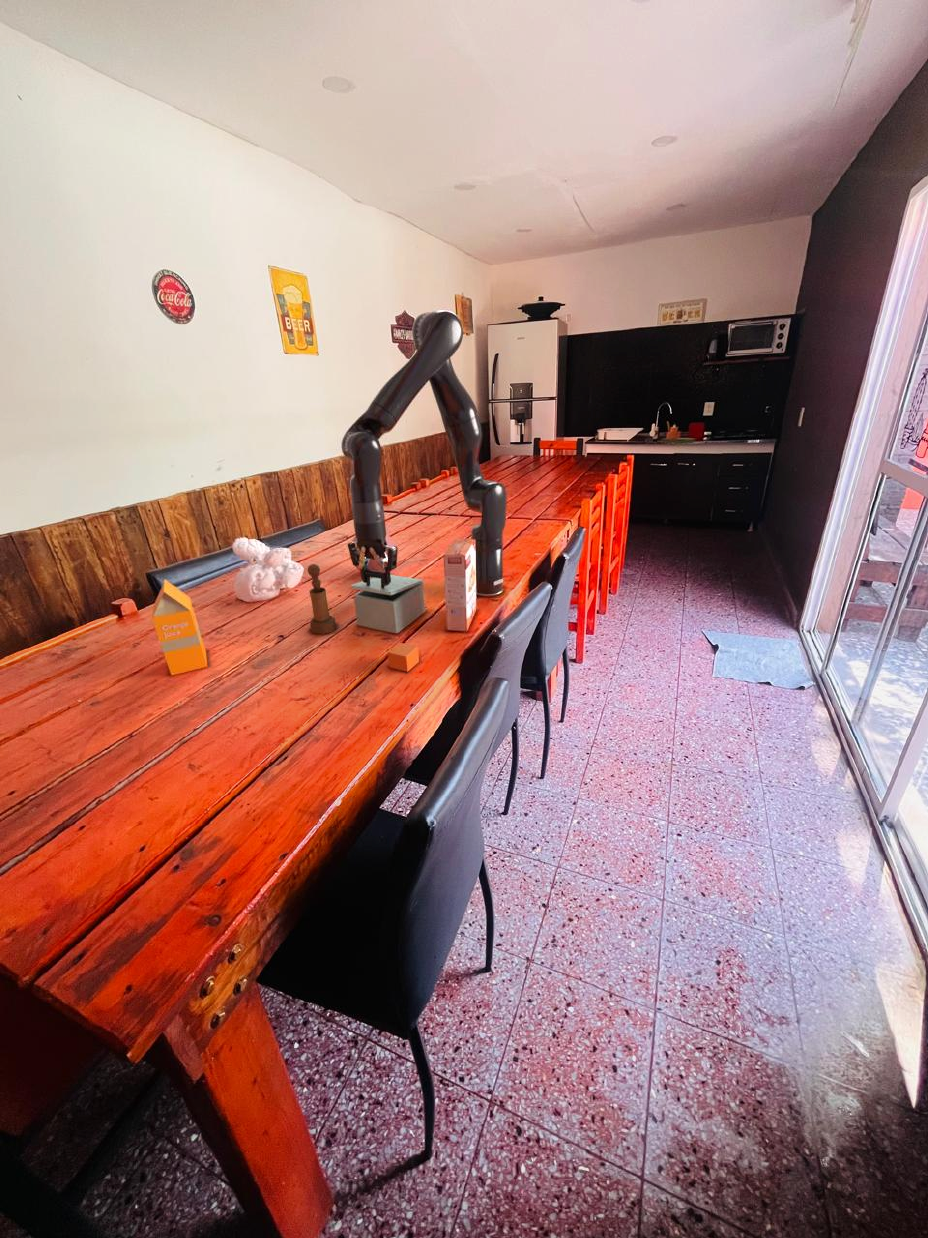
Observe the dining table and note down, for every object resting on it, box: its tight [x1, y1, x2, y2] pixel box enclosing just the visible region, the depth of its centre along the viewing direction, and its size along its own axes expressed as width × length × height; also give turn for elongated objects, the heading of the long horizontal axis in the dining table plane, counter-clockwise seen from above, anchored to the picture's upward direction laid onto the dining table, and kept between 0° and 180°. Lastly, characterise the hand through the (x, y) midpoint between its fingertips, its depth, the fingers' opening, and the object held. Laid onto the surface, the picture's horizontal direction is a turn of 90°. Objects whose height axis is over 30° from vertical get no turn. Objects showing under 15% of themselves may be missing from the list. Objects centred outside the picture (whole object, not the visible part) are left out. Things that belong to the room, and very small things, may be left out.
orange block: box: [387, 642, 420, 673], centre depth 113 cm, size 5×5×4 cm
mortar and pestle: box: [307, 563, 337, 635], centre depth 128 cm, size 7×6×18 cm
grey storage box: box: [353, 582, 426, 635], centre depth 134 cm, size 15×13×9 cm
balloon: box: [349, 532, 396, 572], centre depth 167 cm, size 15×20×15 cm
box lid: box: [349, 569, 424, 595], centre depth 131 cm, size 16×13×5 cm
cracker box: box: [443, 538, 477, 633], centre depth 129 cm, size 14×6×21 cm, turn 168°
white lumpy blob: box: [231, 536, 305, 603], centre depth 154 cm, size 19×20×20 cm
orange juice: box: [151, 579, 208, 676], centre depth 113 cm, size 8×9×20 cm
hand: (376, 583), depth 127 cm, fingers closed on box lid, 5 cm apart
